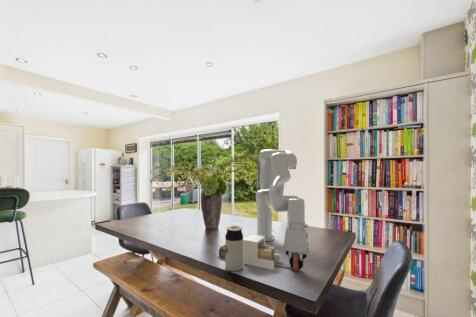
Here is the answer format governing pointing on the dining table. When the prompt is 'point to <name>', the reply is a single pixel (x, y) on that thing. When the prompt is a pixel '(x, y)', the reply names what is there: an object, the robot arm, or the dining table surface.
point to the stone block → (222, 251)
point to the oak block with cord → (269, 254)
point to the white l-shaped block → (252, 252)
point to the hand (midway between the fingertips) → (296, 267)
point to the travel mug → (234, 248)
